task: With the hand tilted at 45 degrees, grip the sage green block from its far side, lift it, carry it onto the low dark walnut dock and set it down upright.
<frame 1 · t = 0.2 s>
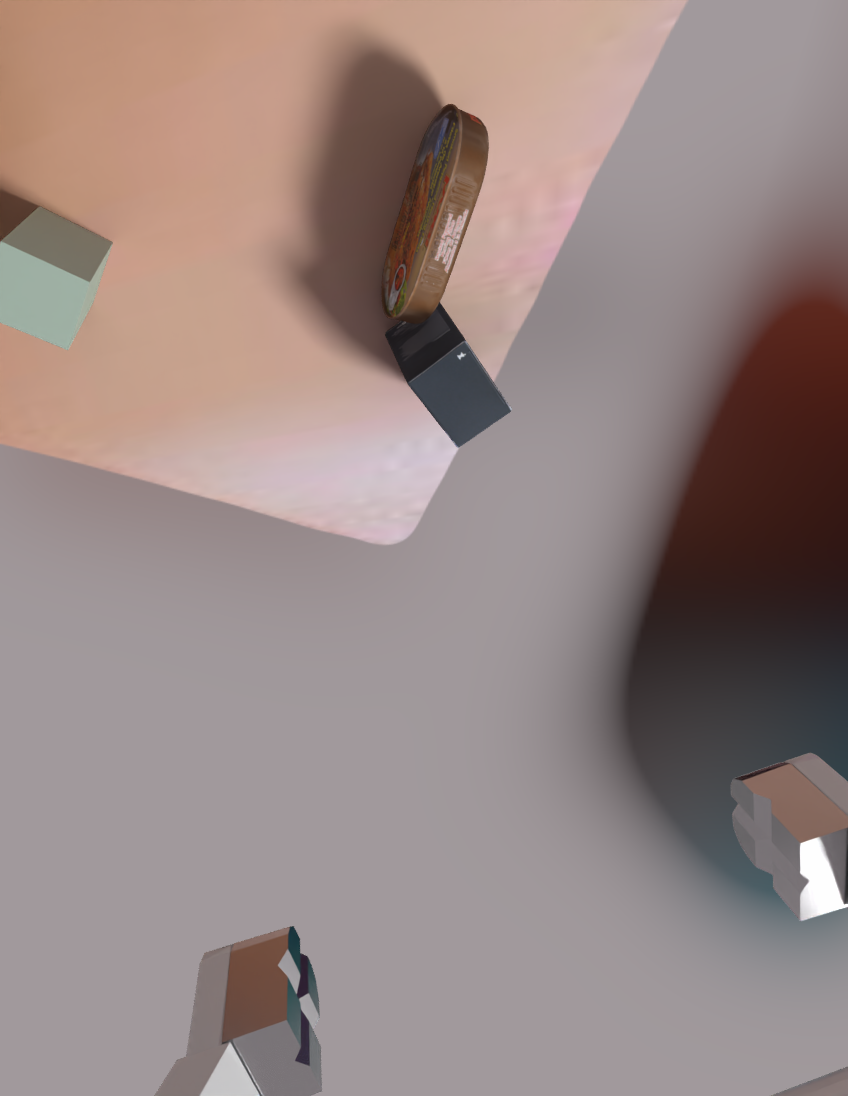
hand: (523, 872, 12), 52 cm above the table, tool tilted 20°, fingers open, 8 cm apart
block: (67, 256, 49), on the table
tin: (418, 211, 53), on the table
box: (431, 346, 60), on the table
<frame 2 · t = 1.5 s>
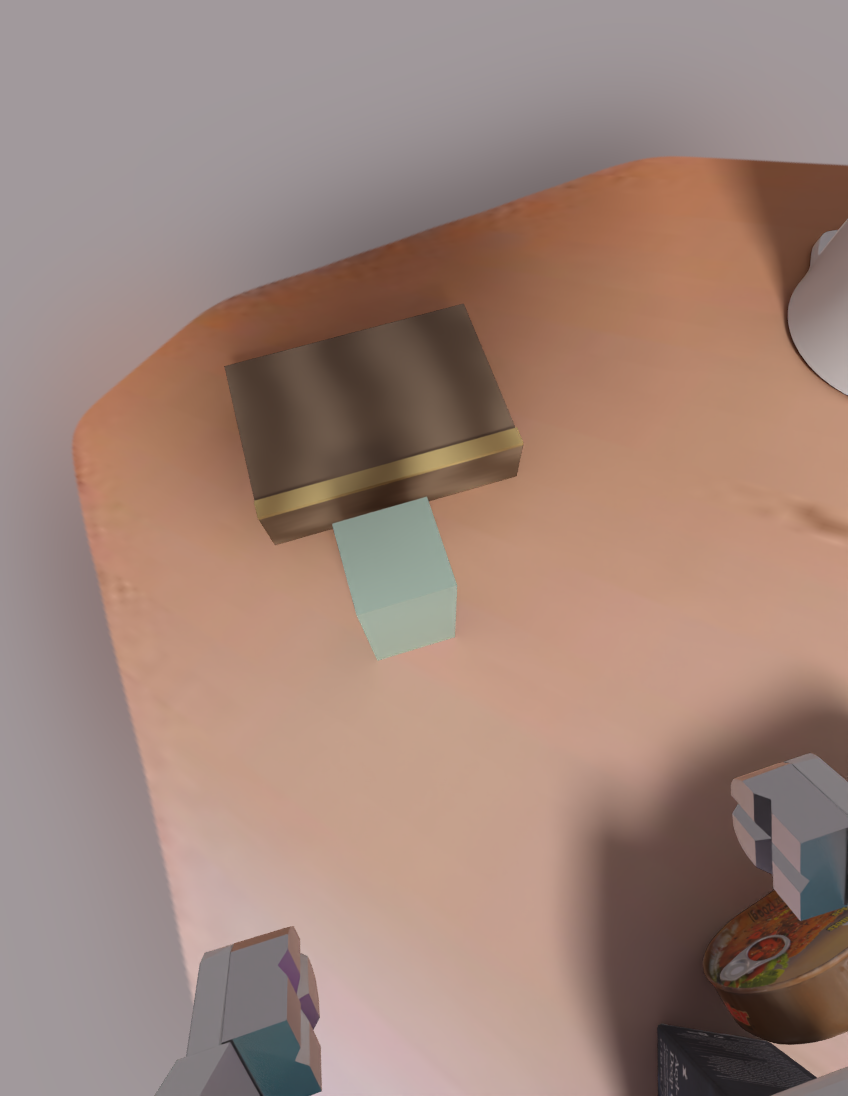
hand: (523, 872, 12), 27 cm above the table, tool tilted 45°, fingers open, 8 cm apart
dock: (374, 437, 46), on the table
block: (405, 611, 41), on the table
tin: (808, 906, 35), on the table
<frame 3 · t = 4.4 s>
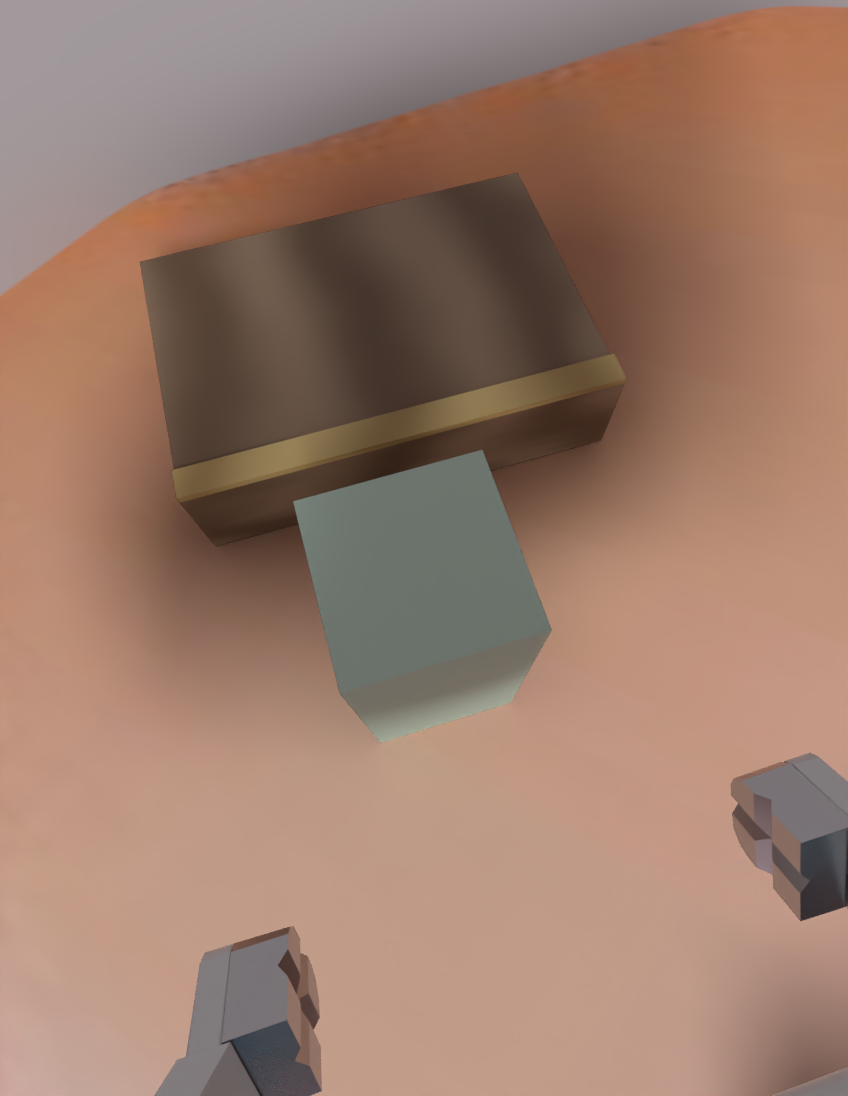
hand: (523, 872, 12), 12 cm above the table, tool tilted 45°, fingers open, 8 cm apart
dock: (377, 380, 30), on the table
block: (426, 658, 25), on the table
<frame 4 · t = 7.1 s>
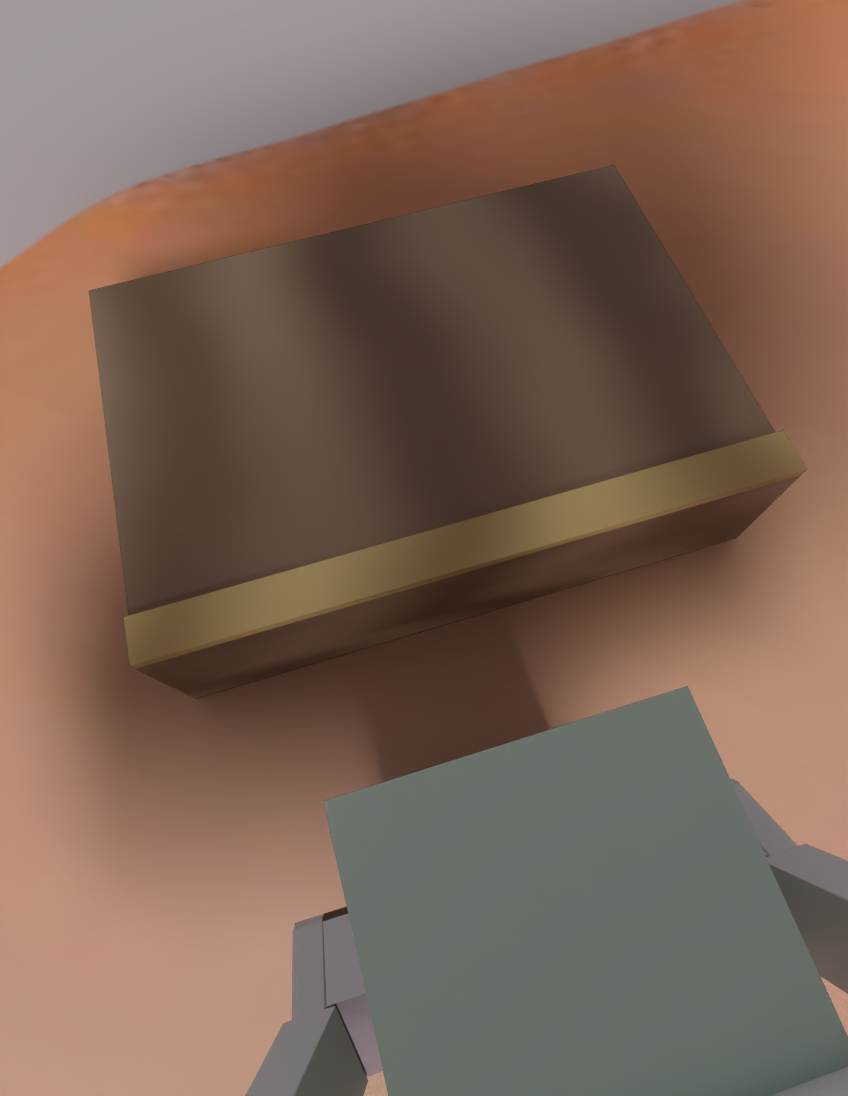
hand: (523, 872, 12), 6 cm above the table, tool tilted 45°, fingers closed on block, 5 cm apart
dock: (419, 450, 22), on the table
block: (506, 882, 17), on the table, touching gripper
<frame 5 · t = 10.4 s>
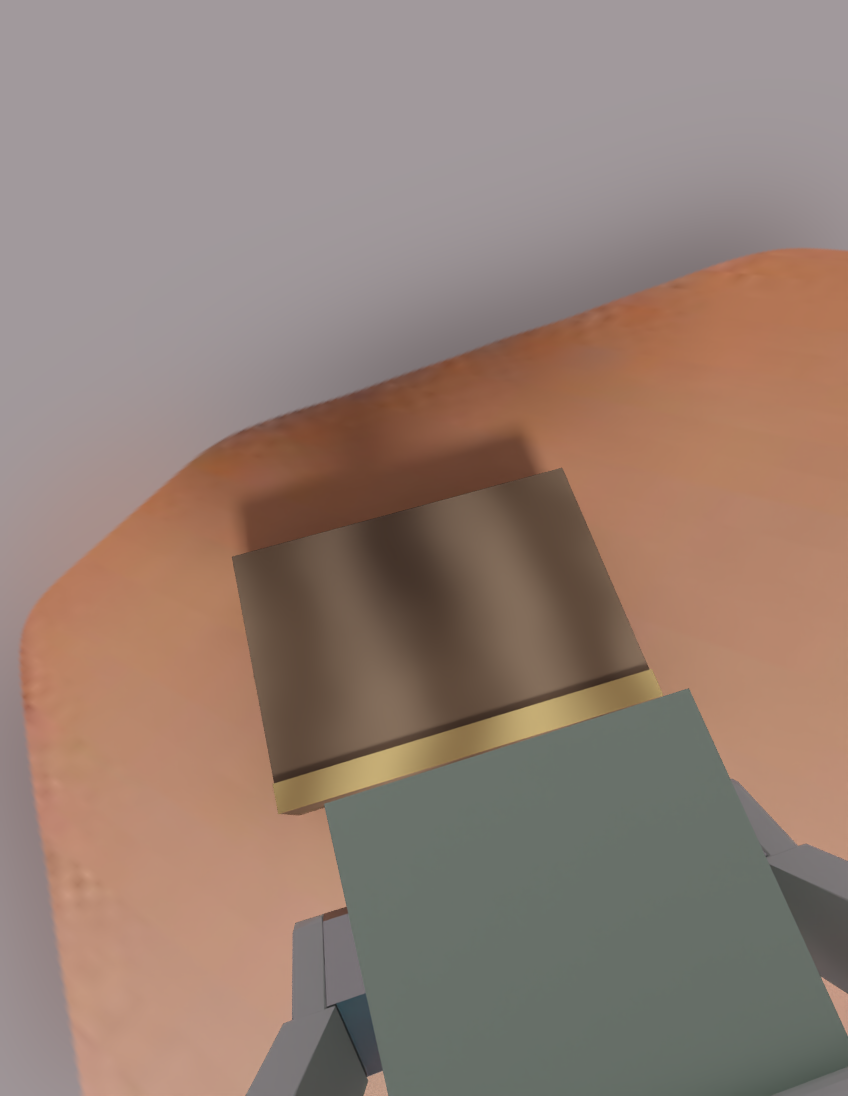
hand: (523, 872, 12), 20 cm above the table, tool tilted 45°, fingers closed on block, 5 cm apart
dock: (435, 645, 34), on the table
block: (506, 883, 17), point 14 cm above the table, touching gripper
when the fingers open (11 cm above the table, at t = 13.7 s): block drops 1 cm, resting on dock.
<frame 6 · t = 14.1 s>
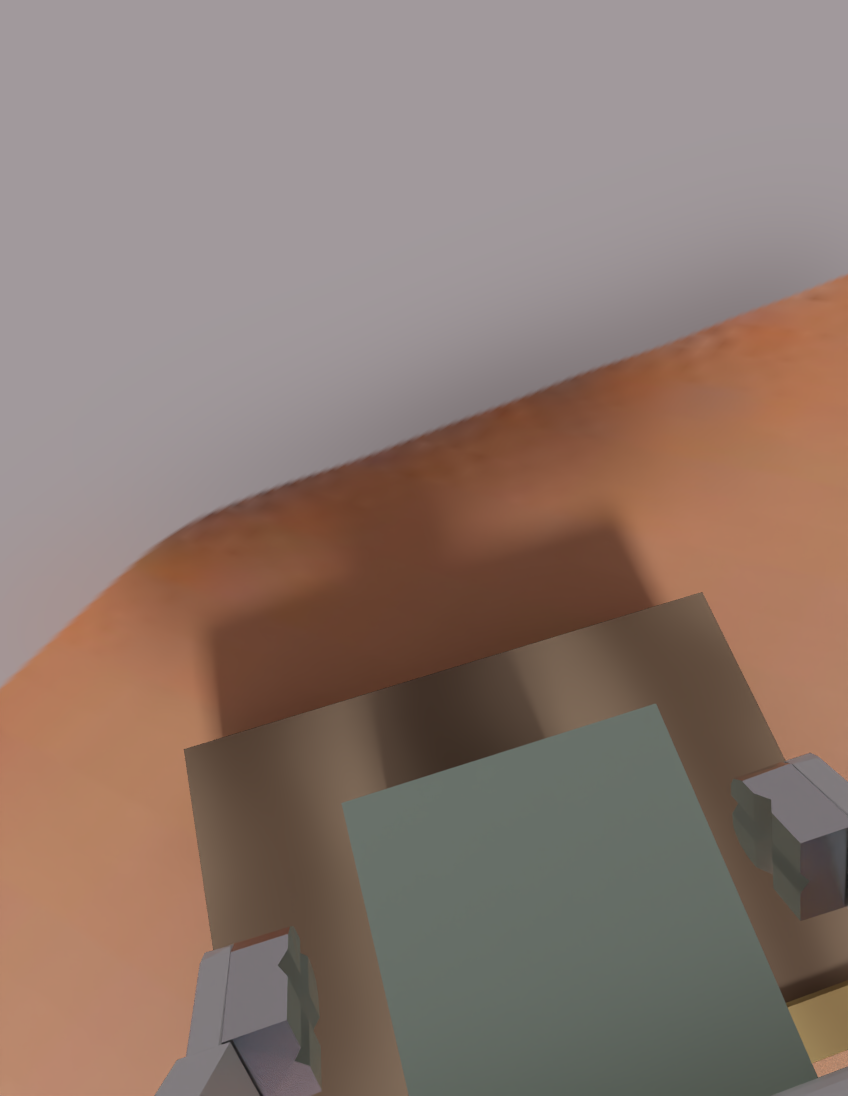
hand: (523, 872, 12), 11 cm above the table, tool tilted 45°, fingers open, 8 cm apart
dock: (504, 863, 22), on the table
block: (501, 877, 18), point 4 cm above the table, touching dock
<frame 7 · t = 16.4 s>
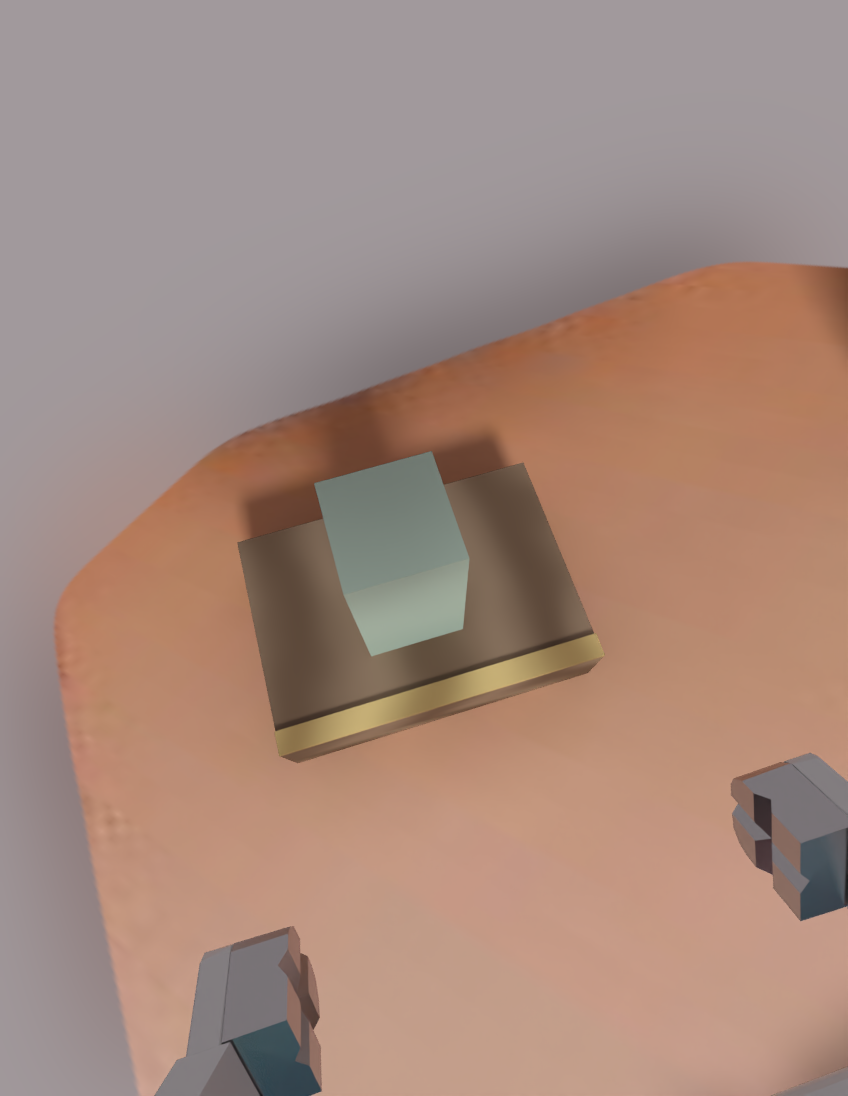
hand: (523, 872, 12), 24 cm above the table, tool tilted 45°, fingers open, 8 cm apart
dock: (415, 618, 39), on the table
block: (404, 599, 35), point 4 cm above the table, touching dock
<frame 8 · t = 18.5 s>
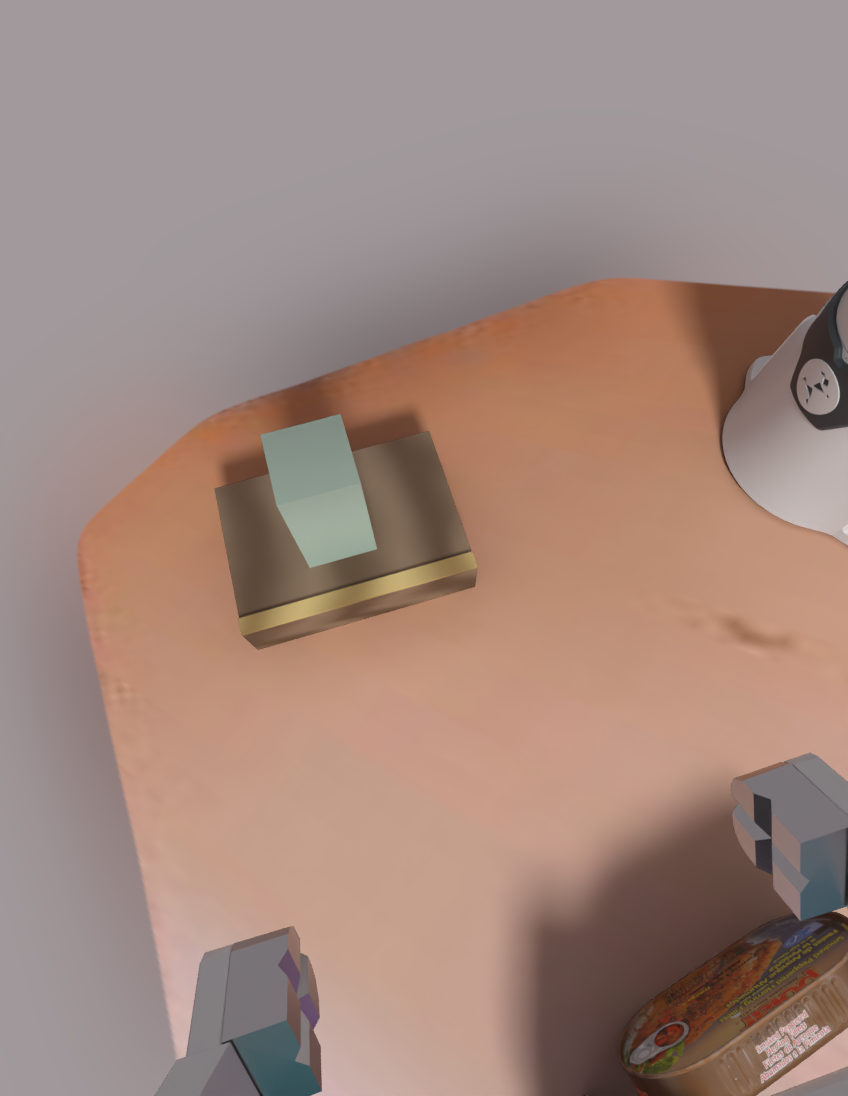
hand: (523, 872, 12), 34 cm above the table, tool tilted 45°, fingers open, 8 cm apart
dock: (349, 547, 51), on the table
block: (335, 528, 48), point 4 cm above the table, touching dock
tin: (716, 989, 40), on the table
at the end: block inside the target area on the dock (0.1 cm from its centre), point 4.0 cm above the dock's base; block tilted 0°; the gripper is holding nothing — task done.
